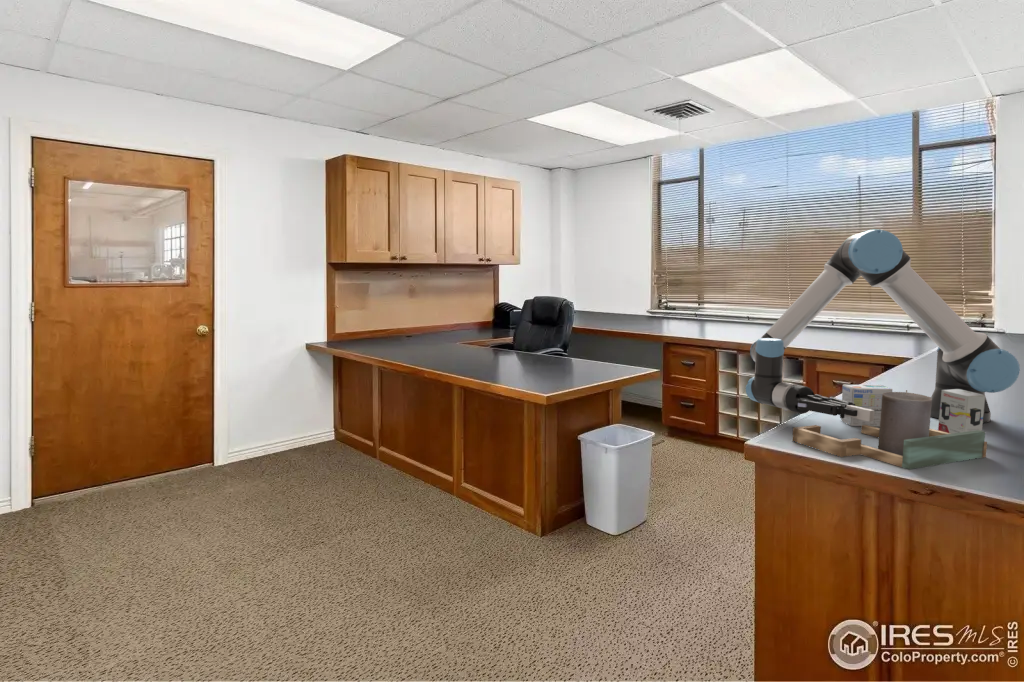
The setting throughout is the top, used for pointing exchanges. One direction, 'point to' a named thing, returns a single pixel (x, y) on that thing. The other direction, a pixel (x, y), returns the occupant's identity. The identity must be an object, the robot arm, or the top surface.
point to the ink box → (961, 411)
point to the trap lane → (915, 451)
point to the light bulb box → (864, 401)
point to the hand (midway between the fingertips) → (871, 415)
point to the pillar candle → (903, 419)
